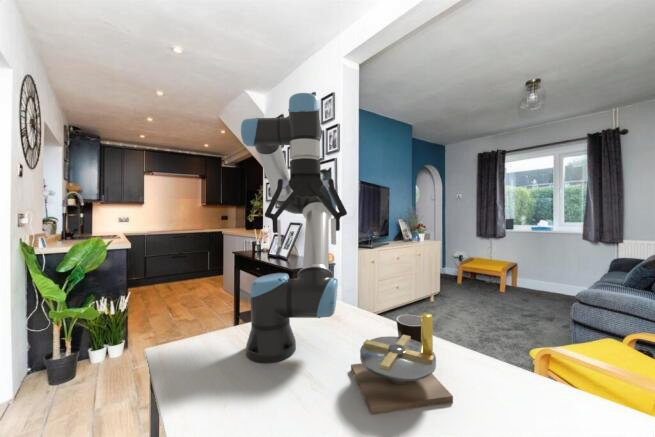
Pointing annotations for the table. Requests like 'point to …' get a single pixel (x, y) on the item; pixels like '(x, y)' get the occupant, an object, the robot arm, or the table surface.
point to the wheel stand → (398, 391)
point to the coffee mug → (409, 326)
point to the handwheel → (401, 354)
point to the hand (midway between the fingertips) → (307, 245)
